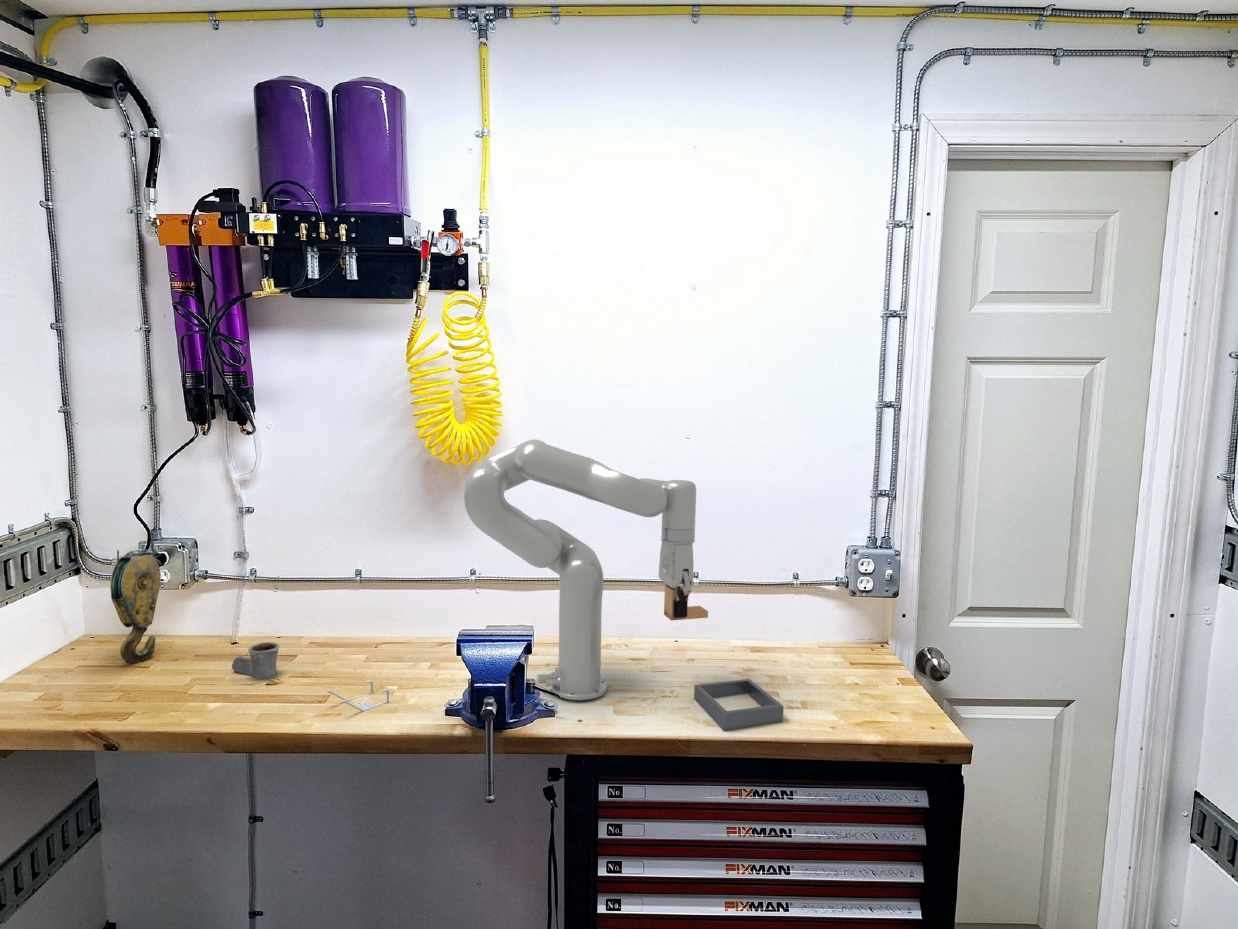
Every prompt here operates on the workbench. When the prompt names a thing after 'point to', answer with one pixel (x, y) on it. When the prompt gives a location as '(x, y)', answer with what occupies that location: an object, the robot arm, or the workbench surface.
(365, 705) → the wall mount rack
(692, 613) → the tan stepped block
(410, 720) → the workbench surface
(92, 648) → the workbench surface
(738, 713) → the well box
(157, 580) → the pulley block
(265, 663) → the pipe
